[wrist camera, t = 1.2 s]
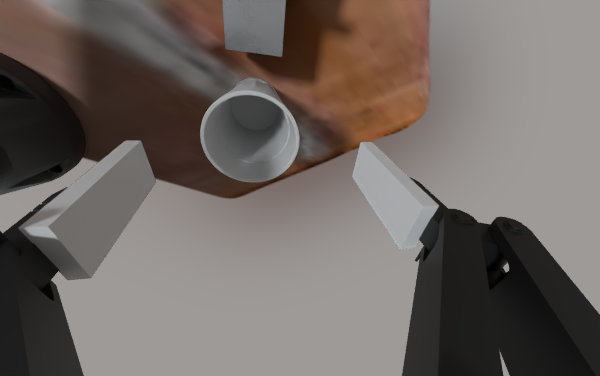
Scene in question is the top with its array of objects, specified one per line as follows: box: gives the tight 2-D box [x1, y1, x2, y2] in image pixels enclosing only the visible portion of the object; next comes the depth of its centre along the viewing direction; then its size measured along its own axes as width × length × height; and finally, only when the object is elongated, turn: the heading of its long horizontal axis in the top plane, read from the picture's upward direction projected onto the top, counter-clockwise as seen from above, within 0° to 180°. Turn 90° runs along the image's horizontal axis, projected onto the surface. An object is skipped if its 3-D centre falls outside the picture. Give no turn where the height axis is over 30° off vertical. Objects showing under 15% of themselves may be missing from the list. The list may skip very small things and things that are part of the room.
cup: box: [200, 78, 300, 183], centre depth 23 cm, size 8×8×12 cm
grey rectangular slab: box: [223, 0, 286, 57], centre depth 19 cm, size 8×8×5 cm
